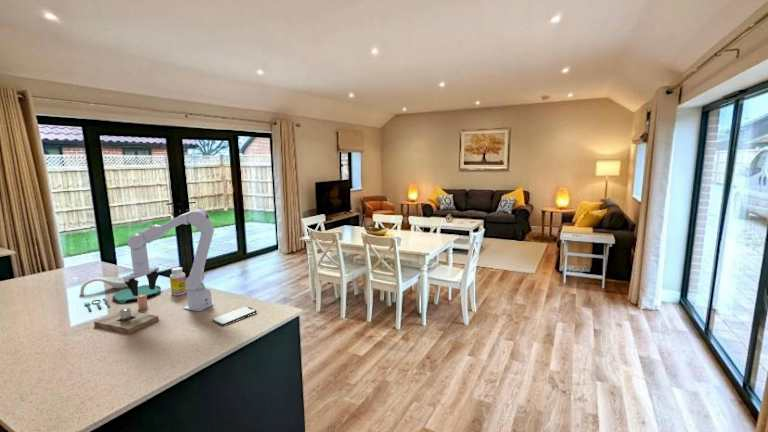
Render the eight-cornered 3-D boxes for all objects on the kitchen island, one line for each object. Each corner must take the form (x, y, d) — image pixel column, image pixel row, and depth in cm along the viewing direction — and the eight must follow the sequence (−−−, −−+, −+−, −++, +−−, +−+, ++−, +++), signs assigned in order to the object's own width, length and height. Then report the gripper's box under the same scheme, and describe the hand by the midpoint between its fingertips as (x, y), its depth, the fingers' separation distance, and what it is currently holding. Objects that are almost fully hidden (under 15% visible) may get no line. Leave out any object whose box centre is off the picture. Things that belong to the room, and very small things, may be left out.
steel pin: (134, 322, 148) (132, 308, 147) (125, 326, 145) (123, 312, 144) (128, 321, 150) (126, 307, 149) (119, 324, 146) (117, 310, 145)
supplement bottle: (180, 296, 176) (177, 271, 174) (168, 295, 177) (165, 270, 175) (190, 291, 182) (187, 266, 180) (178, 290, 184) (176, 266, 182)
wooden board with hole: (158, 320, 150) (158, 316, 149) (130, 333, 139) (129, 329, 138) (124, 314, 156) (123, 309, 156) (94, 326, 145) (93, 321, 145)
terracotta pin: (149, 307, 163) (148, 294, 162) (142, 310, 160) (140, 297, 159) (144, 306, 164) (142, 293, 163) (136, 309, 161) (134, 296, 160)
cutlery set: (166, 295, 178) (165, 290, 178) (88, 315, 158) (88, 310, 157) (155, 285, 192) (154, 281, 192) (83, 303, 171) (82, 298, 171)
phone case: (222, 328, 144) (258, 313, 156) (222, 324, 143) (257, 310, 156) (211, 322, 149) (246, 308, 161) (210, 319, 149) (246, 305, 161)
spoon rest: (136, 281, 199) (134, 268, 198) (138, 287, 190) (137, 274, 189) (80, 291, 185) (78, 278, 183) (80, 298, 176) (78, 284, 174)
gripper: (149, 256, 162) (152, 285, 164) (116, 265, 148) (120, 297, 150) (161, 257, 159) (164, 287, 162) (128, 267, 146) (132, 299, 148)
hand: (144, 292), depth 156 cm, fingers open, 7 cm apart
